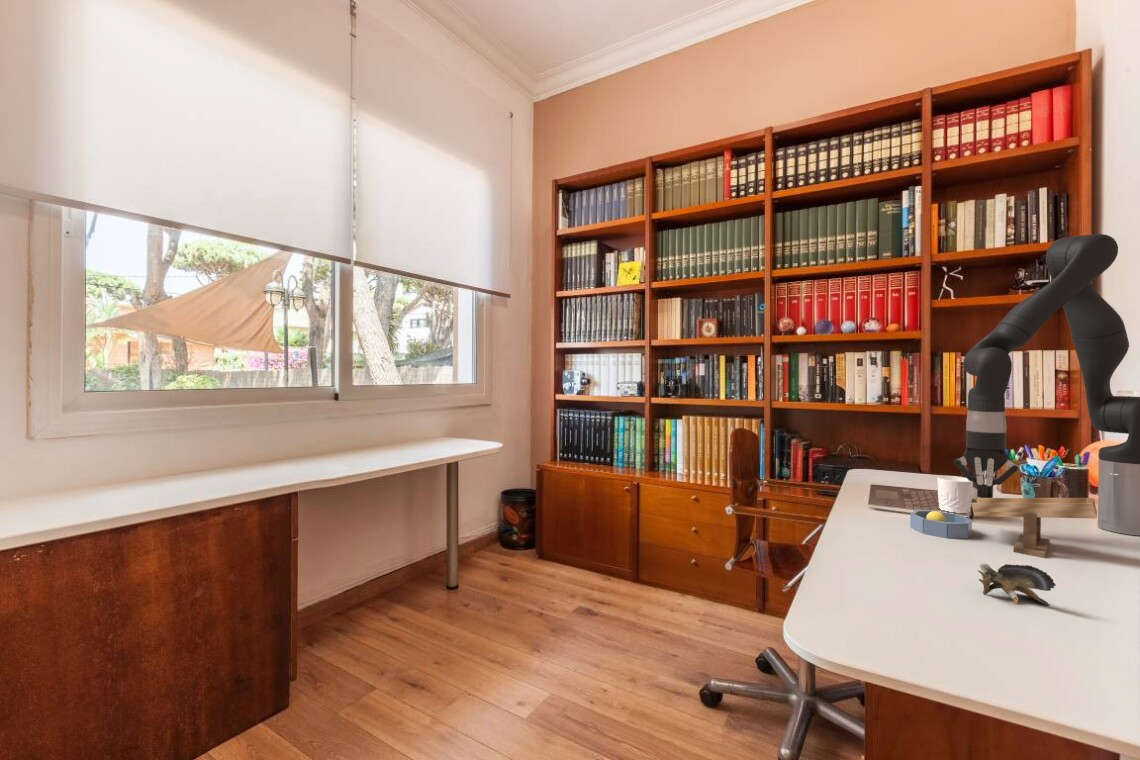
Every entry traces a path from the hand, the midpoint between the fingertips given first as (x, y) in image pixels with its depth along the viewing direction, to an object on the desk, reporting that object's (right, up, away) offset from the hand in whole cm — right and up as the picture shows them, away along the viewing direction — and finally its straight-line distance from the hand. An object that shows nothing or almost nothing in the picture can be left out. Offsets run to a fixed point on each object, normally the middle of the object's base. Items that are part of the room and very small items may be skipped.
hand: (985, 500), depth 124 cm
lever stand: (+1, -8, -11) cm, 14 cm away
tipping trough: (+3, -1, -9) cm, 10 cm away
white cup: (+4, -8, +16) cm, 18 cm away
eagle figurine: (-26, -9, -37) cm, 46 cm away
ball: (-11, -5, +2) cm, 12 cm away
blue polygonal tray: (-10, -8, +1) cm, 13 cm away
